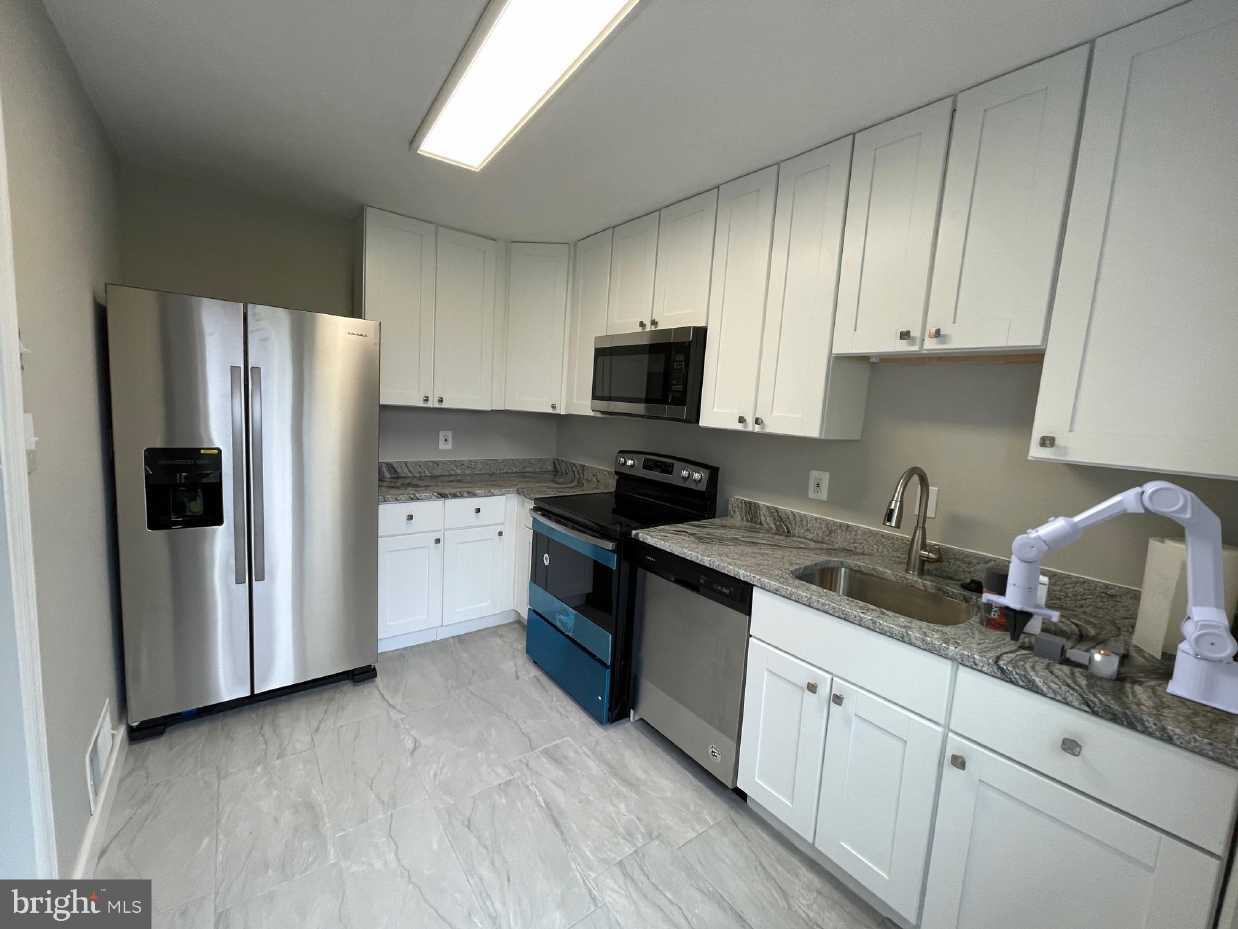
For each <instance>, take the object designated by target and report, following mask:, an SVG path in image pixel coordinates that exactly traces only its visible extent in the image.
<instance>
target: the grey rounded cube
mask: <svg viewBox="0 0 1238 929" xmlns="http://www.w3.org/2000/svg"><path fill="white" fill-rule="evenodd" d="M1034 637H1035V639H1034V645H1033V651H1032V657H1034V656H1037V657H1039V659H1041V658H1043V659H1042V660H1044V659H1048V660H1049V661H1048V662H1050V661H1053V662H1057V663H1058V664H1057V665H1059V664H1060V663H1061V662H1062V661H1063V660H1064V657H1065V656H1064V655H1065V650H1066V643H1067V638H1064V637H1061V636H1057V635H1054V634H1052V633H1051V634H1050V633H1047V632H1045V631H1041V632H1040V633H1039V634H1038V635H1035V636H1034ZM1037 657H1036V658H1037ZM1062 659H1063V660H1062ZM1061 660H1062V661H1061ZM1060 661H1061V662H1060ZM1053 662H1052V663H1053ZM1059 662H1060V663H1059Z"/></svg>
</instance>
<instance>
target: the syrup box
mask: <svg viewBox="0 0 1238 929" xmlns="http://www.w3.org/2000/svg"><path fill="white" fill-rule="evenodd" d="M1049 581H1050V579H1049V577H1048V576H1046V575H1045V576H1044V575H1041V574H1040V578H1039V585H1038V592H1037V599H1036V605H1039V606H1042V607H1045V608H1046V603H1047V602H1046V601H1047V596H1048V589H1049V583H1050V582H1049ZM1043 619H1044V618H1043V617H1040V616H1036V615H1034V616H1033V618H1032V619H1031V620H1030V621H1029V622H1028V624H1027V625H1026V627H1025V628H1024V630H1023V632H1022V633H1027V634H1031V635H1035V636H1036V635H1038V634H1039V633H1040V632H1042V624H1043Z"/></svg>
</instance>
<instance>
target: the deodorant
mask: <svg viewBox="0 0 1238 929" xmlns="http://www.w3.org/2000/svg"><path fill="white" fill-rule="evenodd" d="M1008 575H1009V570H1008V569H1005V568H999V567H995V566H994V567H991V566H990V567H989V566H988V567H985V574H984V580H983V586H982V587H983V588H982V595H981V598H982V597H983V594H984V593H988V594H993V595H998V596H1003V597H1006V590H1007V582H1008ZM1003 610H1004V607H1003V606H999V605H996V604H992V603H988V602H987V603H986V602H982V601H981V603H980V611H979V618H978V624H979V625H980V626H982V627H983V628H986V629H990V630H993V631H1001V632H1002V631H1006V630H1007V626H1008V624H1007V621H1006V619H1005V616H1004V614H1003Z"/></svg>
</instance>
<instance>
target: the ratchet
mask: <svg viewBox="0 0 1238 929" xmlns="http://www.w3.org/2000/svg"><path fill="white" fill-rule="evenodd" d="M1124 646H1125V644H1122V643H1118V642H1114V641H1111V640H1110V641H1109V642H1108V643H1107V645H1106V647H1105V648H1104V649H1103V648H1102V649H1101V648H1099V649H1097V648H1096V649H1095V648H1093V649H1091V650H1090V653H1089V652H1085V651H1082V650H1079V649H1076V648H1072V649H1071V648H1067V649H1066V653H1065V657H1067V658H1069V659H1070V660H1071V661H1074V662H1077V663H1080V664H1083V665H1087V666H1088V668H1087V671H1088V672H1089V673H1090V672H1091V673H1092V675H1093V674H1094V676H1095V675H1097V676H1096V677H1098V678H1101V677H1103V678H1102V679H1105V678H1108V679H1107V680H1111V679H1112V680H1116V679H1117V673H1118V667H1119V661H1120V660H1121V657H1122V656H1123V652H1124ZM1091 673H1090V674H1091Z"/></svg>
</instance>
